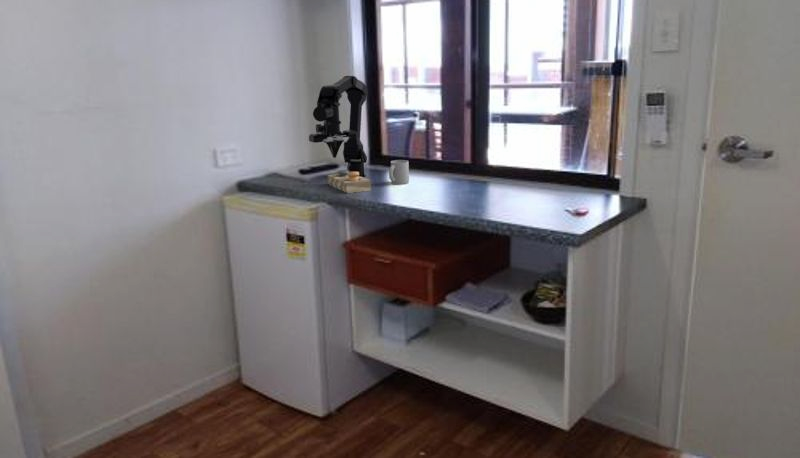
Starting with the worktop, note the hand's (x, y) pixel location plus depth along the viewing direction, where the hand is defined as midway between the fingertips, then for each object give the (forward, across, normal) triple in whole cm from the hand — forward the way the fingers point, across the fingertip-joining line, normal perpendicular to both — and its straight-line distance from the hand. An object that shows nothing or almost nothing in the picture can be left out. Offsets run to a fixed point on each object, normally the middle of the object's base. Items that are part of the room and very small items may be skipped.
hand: (334, 157), depth 249 cm
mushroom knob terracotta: (+10, -2, +12) cm, 16 cm away
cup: (+12, -22, +11) cm, 28 cm away
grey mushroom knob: (+11, -3, +2) cm, 12 cm away
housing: (+11, -3, +7) cm, 13 cm away
